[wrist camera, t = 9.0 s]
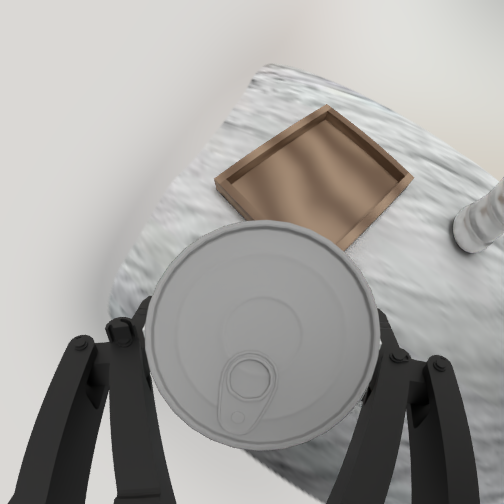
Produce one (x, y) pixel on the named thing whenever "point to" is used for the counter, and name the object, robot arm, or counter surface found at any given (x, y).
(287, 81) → the counter surface
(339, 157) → the walnut tray
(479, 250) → the plastic bottle
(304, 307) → the canned tomato
